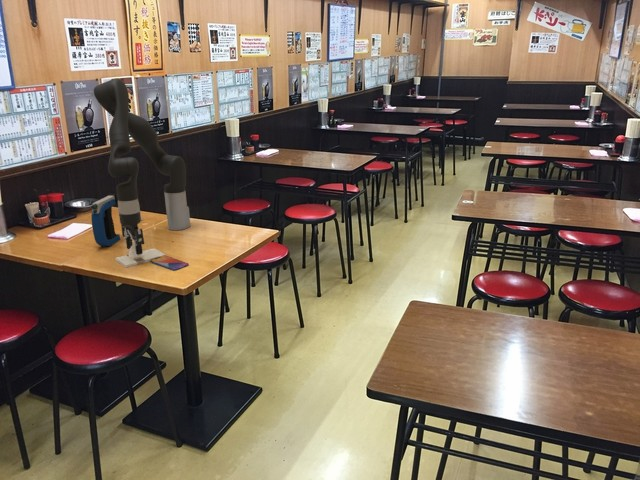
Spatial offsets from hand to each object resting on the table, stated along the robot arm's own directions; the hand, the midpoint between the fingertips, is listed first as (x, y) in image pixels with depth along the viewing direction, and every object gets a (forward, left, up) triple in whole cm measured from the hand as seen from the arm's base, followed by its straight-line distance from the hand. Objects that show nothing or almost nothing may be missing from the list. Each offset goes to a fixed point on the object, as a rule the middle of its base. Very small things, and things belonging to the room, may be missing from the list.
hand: (134, 251), depth 199 cm
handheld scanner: (0, -26, -4) cm, 26 cm away
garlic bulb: (0, 0, -3) cm, 3 cm away
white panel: (-2, 0, -4) cm, 4 cm away
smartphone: (-8, +12, -4) cm, 15 cm away
